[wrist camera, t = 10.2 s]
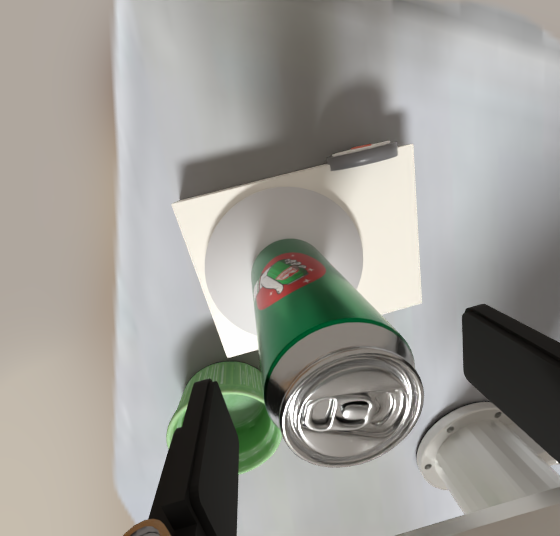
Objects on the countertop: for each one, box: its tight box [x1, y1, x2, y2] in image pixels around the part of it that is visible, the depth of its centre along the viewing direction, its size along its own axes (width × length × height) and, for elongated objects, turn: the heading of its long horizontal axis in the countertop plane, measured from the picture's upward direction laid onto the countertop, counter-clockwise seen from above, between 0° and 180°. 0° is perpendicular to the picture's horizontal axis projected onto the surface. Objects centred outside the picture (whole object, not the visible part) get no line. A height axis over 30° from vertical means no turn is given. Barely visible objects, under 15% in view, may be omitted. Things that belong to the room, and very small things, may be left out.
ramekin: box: [166, 362, 282, 475], centre depth 24 cm, size 9×9×4 cm
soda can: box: [251, 239, 424, 468], centre depth 14 cm, size 5×5×12 cm
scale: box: [172, 141, 422, 358], centre depth 20 cm, size 16×13×4 cm
